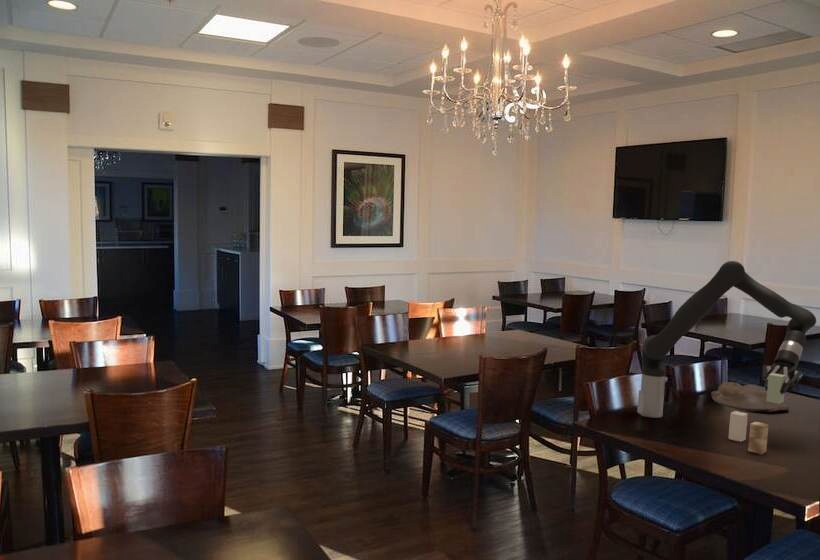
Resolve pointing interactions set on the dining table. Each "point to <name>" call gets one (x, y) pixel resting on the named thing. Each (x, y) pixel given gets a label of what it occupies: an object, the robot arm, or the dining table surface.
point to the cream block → (738, 426)
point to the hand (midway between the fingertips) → (774, 391)
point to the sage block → (775, 388)
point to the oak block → (758, 437)
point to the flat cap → (744, 398)
